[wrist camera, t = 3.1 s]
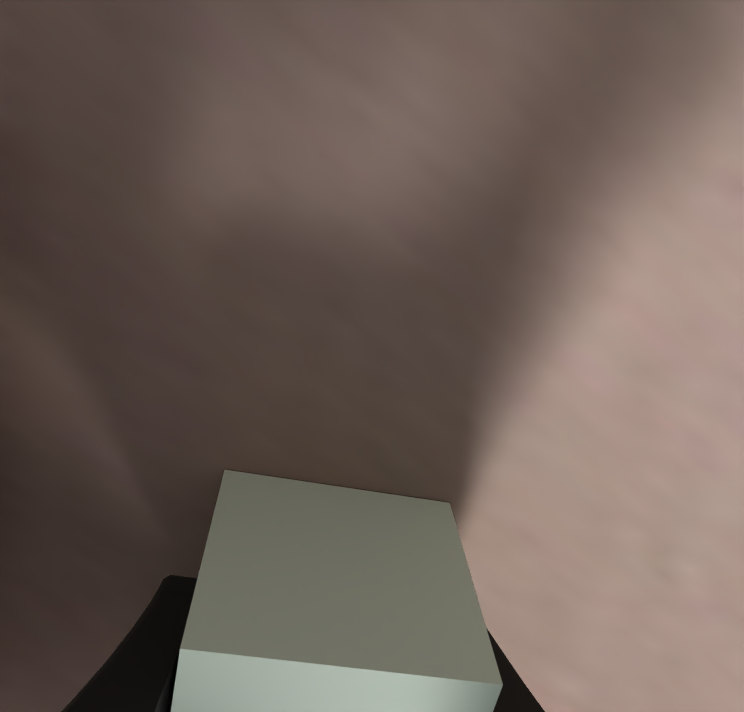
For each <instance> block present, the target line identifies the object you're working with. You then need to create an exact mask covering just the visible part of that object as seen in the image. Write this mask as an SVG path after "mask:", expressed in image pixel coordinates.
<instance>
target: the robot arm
mask: <svg viewBox="0 0 744 712" xmlns="http://www.w3.org/2000/svg"><path fill="white" fill-rule="evenodd" d="M196 583H197V578H190V577H182V576H174V575H170V576H168V577H167V578H165V579H163V581H162V583H161V585H160V587H159V589H158V591H157V592H156V594H155V596H154V597H153V599H152V601H151V602H150V604H149V605H148V607H147V608H146V610H145V611H144V613H143V614H142V615H141V617H140V618H139V620H138V621H137V622H136V624H135V625H134V627H133V628H132V629H131V631H130V632H129V633H128V635H127V636H126V637H125V638H124V640H123V641H122V642H121V644H120V645H119V646H118V647H117V649H116V650H115V651H114V653H113V654H112V655H111V656H110V658H109V659H108V660H107V661H106V662H105V664H104V665H103V666H102V667H101V668H100V670H99V671H98V672H97V673H96V674H95V675H94V676H93V677H92V679H91V680H90V681H89V682H88V683H87V684H86V685H85V687H84V688H83V689H82V690H81V691H80V692H79V693H78V694H77V696H76V697H75V698H74V699H73V700H72V701H71V702H70V703H69V704H68V705H67V706H66V707H65V708H64V709H63V711H62V712H171V707H172V700H173V693H174V686H175V679H176V673H177V666H178V659H179V652H180V647H181V643H182V639H183V635H184V631H185V627H186V623H187V619H188V615H189V611H190V607H191V603H192V599H193V595H194V591H195V587H196ZM486 629H487V628H486ZM487 632H488V635H489V639H490V642H491V646H492V649H493V653H494V656H495V659H496V663H497V666H498V670H499V673H500V676H501V680H502V683H503V686H502V689H501V691H500V694H499V697H498V699H497V702H496V705H495V707H494V710H493V712H545V711H544V710H543V709H542V707H541V706H540V704H539V703H538V702H537V700H536V699H535V698H534V696H533V695H532V693H531V692H530V691H529V689H528V688H527V687H526V685H525V684H524V682H523V681H522V679H521V678H520V677H519V675H518V674H517V672H516V671H515V669H514V668H513V666H512V665H511V663H510V662H509V661H508V659H507V658H506V656H505V655H504V653H503V652H502V650H501V649H500V647H499V646H498V644H497V643H496V641H495V640H494V638H493V637H492V635H491V634H490V632H489V631H488V629H487Z"/></svg>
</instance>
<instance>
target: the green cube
mask: <svg viewBox="0 0 744 712" xmlns="http://www.w3.org/2000/svg"><path fill="white" fill-rule="evenodd" d="M502 686H503V683H502V680H501V676H500V673H499V670H498V666H497V663H496V659H495V656H494V653H493V649H492V646H491V642H490V639H489V635H488V632H487V629H486V625H485V622H484V618H483V615H482V611H481V608H480V605H479V601H478V598H477V594H476V591H475V588H474V584H473V581H472V577H471V574H470V570H469V567H468V564H467V560H466V557H465V553H464V550H463V547H462V543H461V540H460V536H459V533H458V529H457V526H456V523H455V519H454V516H453V512H452V509H451V505H450V503H447V502H440V501H434V500H427V499H420V498H413V497H407V496H400V495H393V494H386V493H379V492H373V491H366V490H359V489H352V488H346V487H339V486H332V485H325V484H319V483H312V482H305V481H298V480H292V479H285V478H278V477H271V476H265V475H258V474H251V473H244V472H237V471H231V470H224V474H223V478H222V482H221V486H220V490H219V494H218V498H217V502H216V506H215V510H214V514H213V518H212V522H211V526H210V530H209V534H208V538H207V542H206V546H205V550H204V554H203V558H202V562H201V566H200V570H199V574H198V578H197V583H196V587H195V591H194V595H193V599H192V603H191V607H190V611H189V615H188V619H187V623H186V627H185V631H184V635H183V639H182V643H181V647H180V652H179V659H178V666H177V673H176V679H175V686H174V693H173V700H172V707H171V712H493V710H494V707H495V705H496V702H497V699H498V697H499V694H500V691H501V689H502Z"/></svg>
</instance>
